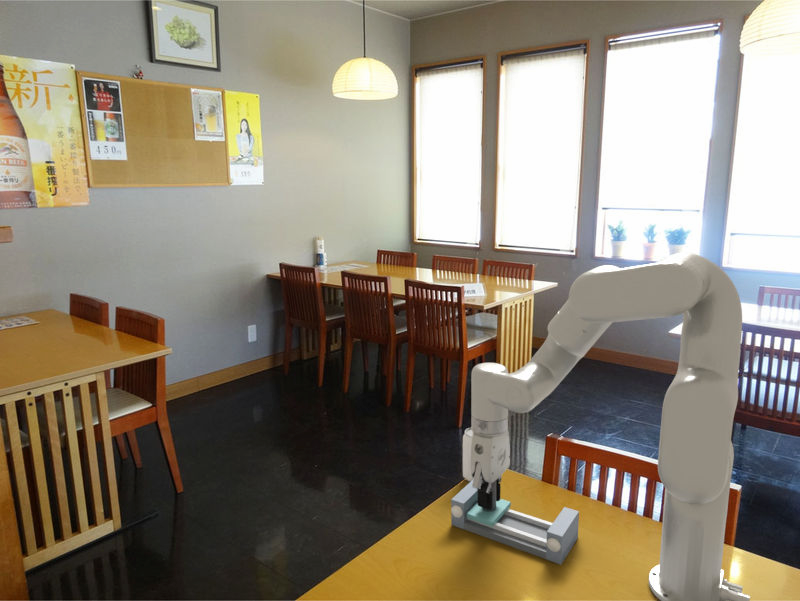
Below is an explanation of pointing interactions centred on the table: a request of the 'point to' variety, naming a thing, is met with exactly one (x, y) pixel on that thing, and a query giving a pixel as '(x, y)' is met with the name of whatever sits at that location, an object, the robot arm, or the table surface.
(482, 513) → the carriage
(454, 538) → the table surface
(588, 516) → the table surface
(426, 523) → the table surface
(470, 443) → the can
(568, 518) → the rail track
